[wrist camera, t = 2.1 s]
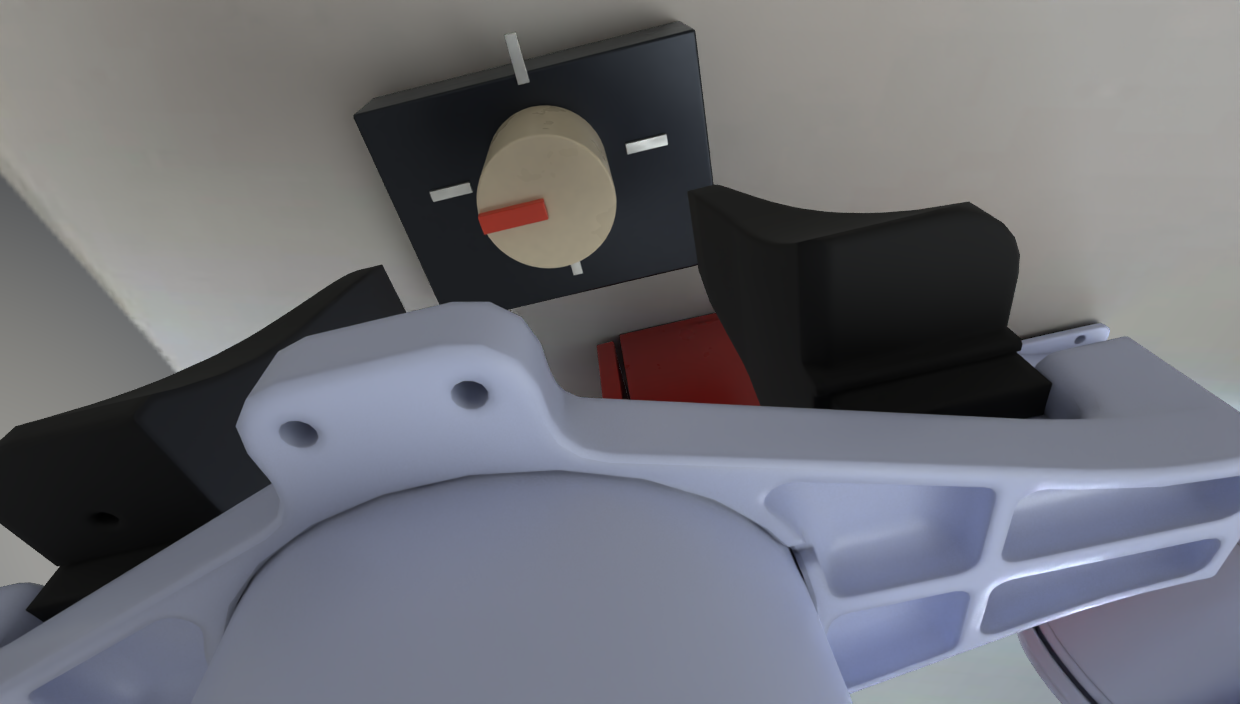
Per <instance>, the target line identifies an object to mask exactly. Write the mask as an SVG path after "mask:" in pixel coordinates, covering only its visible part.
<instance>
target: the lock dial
mask: <svg viewBox="0 0 1240 704" xmlns="http://www.w3.org/2000/svg"><path fill="white" fill-rule="evenodd" d="M477 209H478V214H479V215H478V220H479V222H480V225H481V228H482V230H483V233H484V235H486V234H487V235H488V236H489V238H490V239H491V240H492V242H493V243H494V244H495V245H496V246H497V247H498V248H499V249H500V250H501V251H502V252H504V253H505V254H506V255H508V256H509V257H511V258H513V259H514V260H516V261H519V262H521V263H523V264H526V265H529V266H533V267H539V268H559V267H565V266H568V265H572V264H574V263H577V262H579V261H581V260H583V259H585V258H586V257H588V256H589V255H591V254H592V253H593V252H594V251H596V250H597V249H598V248H599V247H600V246H601V244H602V243H603V242H604V240H605V239H606V238H607V236H608V234H609V232H610V230H611V228H612V225H613V223H614V219H615V215H616V192H615V187H614V183H613V179H612V176H611V172H610V168H609V164H608V160H607V156H606V153H605V149H604V146H603V144H602V142H601V139H600V138H599V136H598V134H597V133H596V131H595V130H594V129H593V128H592V126H591V125H590V124H589V123H588V122H587V121H586V120H584V119H583V118H582V117H580V116H579V115H577V114H575V113H574V112H572V111H569V110H567V109H564V108H561V107H557V106H549V105H542V106H534V107H529V108H526V109H523V110H521V111H519V112H517V113H515V114H514V115H512V116H511V117H509V118H508V119H507V120H506V121H505V122H504V123H503V124H502V125H501V126H500V127H499V129H498V130H497V132H496V133H495V135H494V137H493V139H492V142H491V144H490V147H489V151H488V154H487V157H486V160H485V163H484V166H483V170H482V173H481V176H480V179H479V183H478V188H477Z"/></svg>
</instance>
